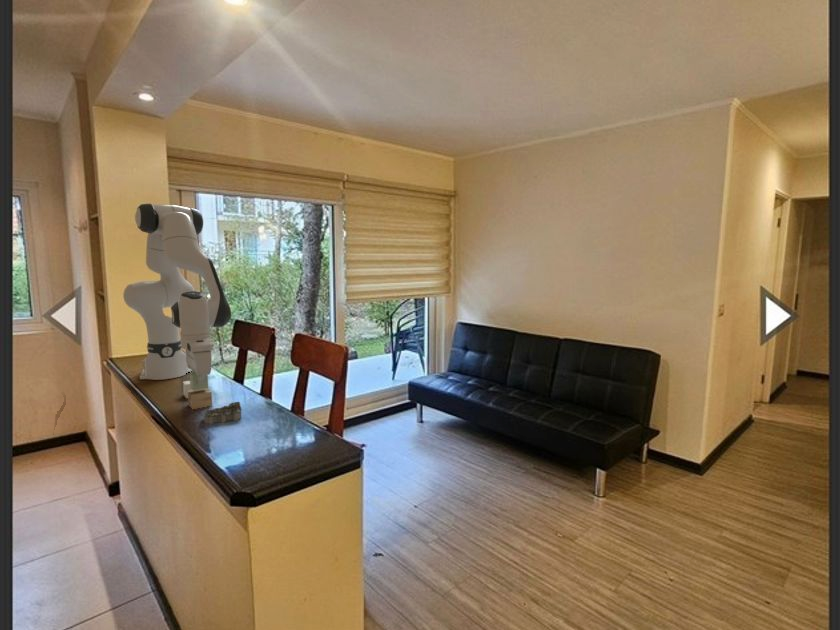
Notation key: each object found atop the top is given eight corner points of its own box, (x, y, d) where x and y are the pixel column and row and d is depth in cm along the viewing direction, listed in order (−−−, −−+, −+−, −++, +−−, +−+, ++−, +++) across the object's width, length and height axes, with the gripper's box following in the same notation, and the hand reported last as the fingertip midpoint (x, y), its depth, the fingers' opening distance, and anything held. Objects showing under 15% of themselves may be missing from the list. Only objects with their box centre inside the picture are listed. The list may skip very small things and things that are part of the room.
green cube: (190, 387, 148) (189, 372, 147) (205, 385, 151) (204, 370, 150) (193, 390, 144) (192, 375, 144) (208, 388, 147) (207, 373, 146)
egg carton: (241, 413, 142) (241, 400, 142) (241, 421, 135) (241, 408, 135) (204, 417, 138) (204, 404, 138) (203, 426, 132) (202, 412, 131)
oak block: (188, 405, 149) (187, 390, 148) (207, 401, 153) (206, 387, 152) (192, 410, 144) (191, 395, 143) (212, 406, 148) (211, 391, 147)
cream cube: (183, 395, 159) (182, 381, 158) (197, 392, 162) (196, 379, 161) (186, 398, 155) (185, 384, 155) (200, 396, 158) (199, 382, 157)
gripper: (179, 337, 152) (182, 377, 154) (192, 348, 136) (194, 392, 137) (199, 335, 155) (202, 374, 157) (214, 345, 139) (216, 388, 141)
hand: (198, 382), depth 147 cm, fingers closed on green cube, 4 cm apart
